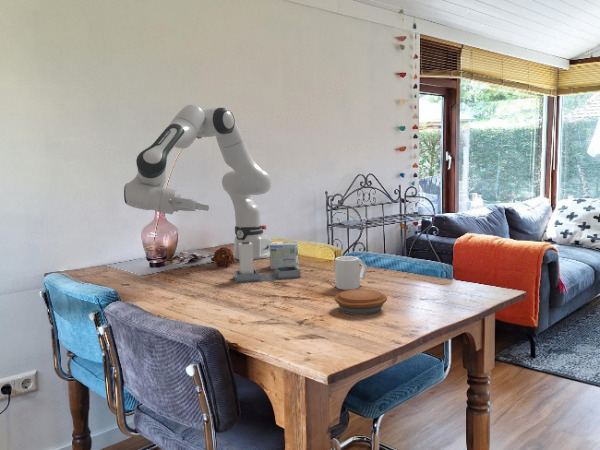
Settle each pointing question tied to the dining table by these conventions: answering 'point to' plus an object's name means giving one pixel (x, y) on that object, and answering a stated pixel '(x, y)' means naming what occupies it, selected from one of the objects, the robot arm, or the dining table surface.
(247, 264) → the white rectangular bottle
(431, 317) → the dining table surface
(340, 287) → the mug
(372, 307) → the pie
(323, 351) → the dining table surface
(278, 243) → the light bulb box
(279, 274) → the grey double tray
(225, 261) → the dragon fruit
